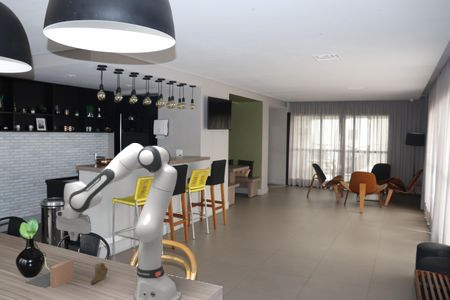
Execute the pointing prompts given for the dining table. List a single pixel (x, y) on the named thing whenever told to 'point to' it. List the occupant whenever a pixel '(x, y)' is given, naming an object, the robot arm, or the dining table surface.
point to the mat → (41, 280)
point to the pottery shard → (99, 272)
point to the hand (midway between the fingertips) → (73, 240)
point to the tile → (61, 273)
